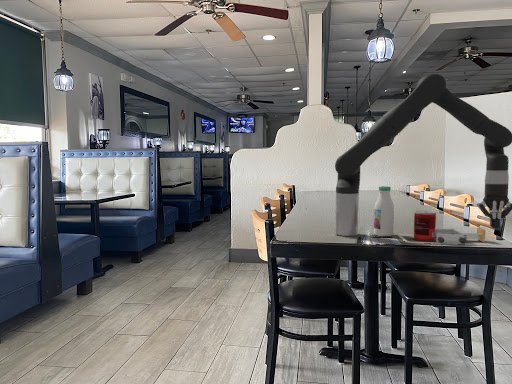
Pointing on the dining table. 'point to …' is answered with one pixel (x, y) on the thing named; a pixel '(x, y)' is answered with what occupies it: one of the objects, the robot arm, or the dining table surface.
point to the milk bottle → (384, 213)
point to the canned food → (424, 225)
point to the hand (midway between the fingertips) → (494, 228)
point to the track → (434, 243)
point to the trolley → (457, 236)
